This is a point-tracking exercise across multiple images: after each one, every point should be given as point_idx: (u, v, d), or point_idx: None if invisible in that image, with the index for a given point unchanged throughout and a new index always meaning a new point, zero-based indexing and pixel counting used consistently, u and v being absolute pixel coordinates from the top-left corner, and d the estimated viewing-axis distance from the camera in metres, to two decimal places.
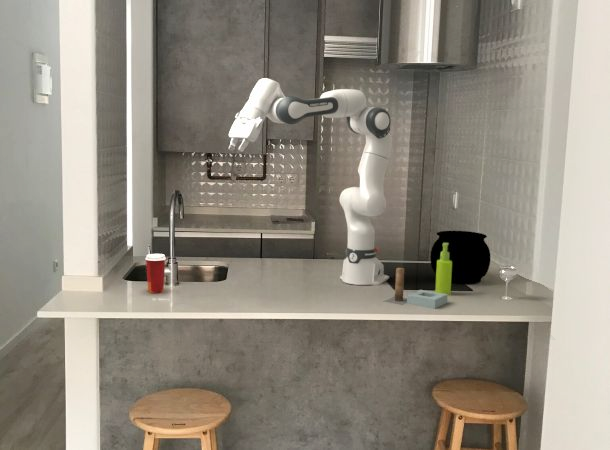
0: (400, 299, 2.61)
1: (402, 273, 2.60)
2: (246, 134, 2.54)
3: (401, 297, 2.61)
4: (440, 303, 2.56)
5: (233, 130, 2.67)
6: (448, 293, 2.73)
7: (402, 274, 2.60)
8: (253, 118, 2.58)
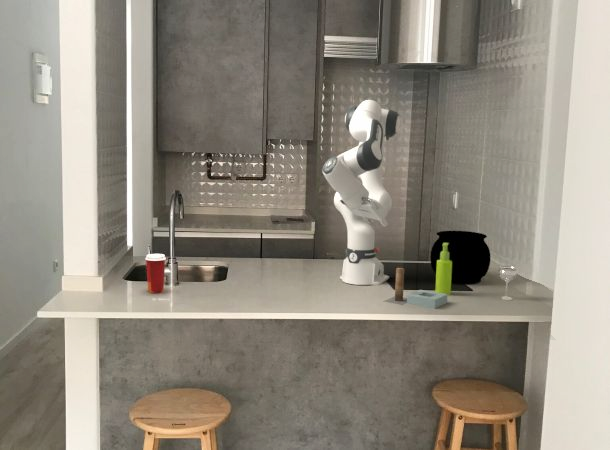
0: (400, 299, 2.61)
1: (402, 273, 2.60)
2: (377, 218, 2.44)
3: (401, 297, 2.61)
4: (440, 303, 2.56)
5: (354, 211, 2.56)
6: (448, 293, 2.73)
7: (402, 274, 2.60)
8: (362, 201, 2.44)
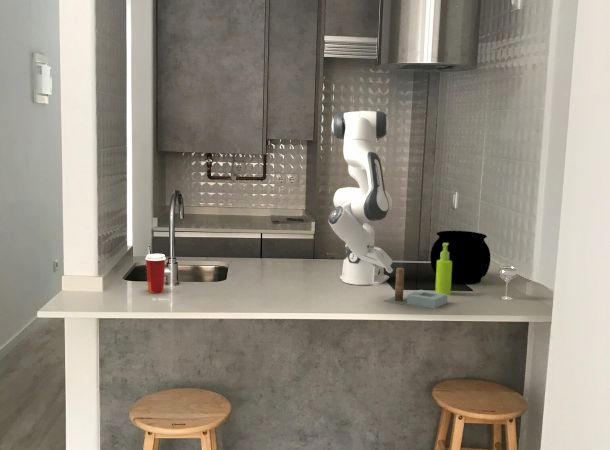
0: (400, 299, 2.61)
1: (402, 273, 2.60)
2: (382, 266, 2.48)
3: (401, 297, 2.61)
4: (440, 303, 2.56)
5: (359, 256, 2.61)
6: (448, 293, 2.73)
7: (402, 274, 2.60)
8: (367, 249, 2.49)
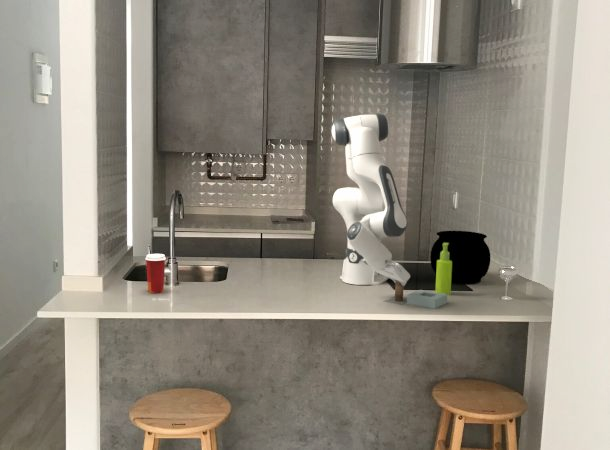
0: (400, 299, 2.61)
1: None
2: (400, 280, 2.52)
3: (401, 297, 2.61)
4: (440, 303, 2.56)
5: None
6: (448, 293, 2.73)
7: None
8: (385, 264, 2.53)
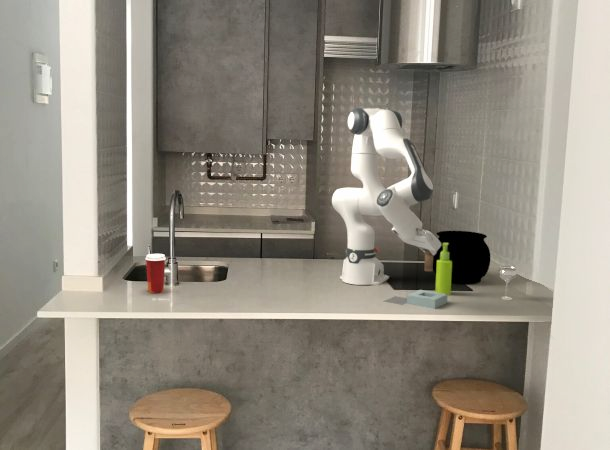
0: (430, 269, 2.56)
1: None
2: (431, 249, 2.48)
3: (430, 267, 2.56)
4: (440, 303, 2.56)
5: (405, 240, 2.60)
6: (448, 293, 2.73)
7: None
8: (416, 232, 2.48)
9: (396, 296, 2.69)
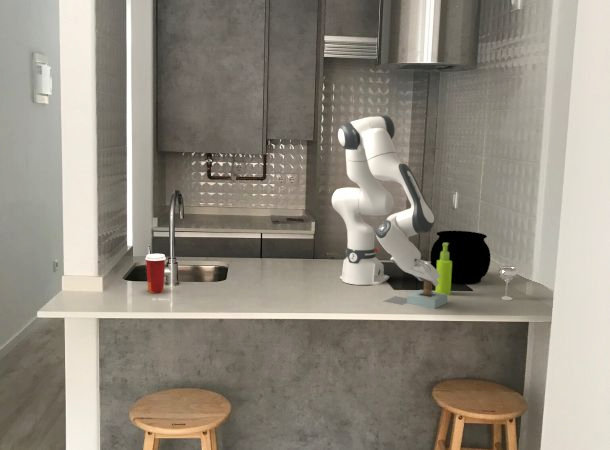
0: None
1: None
2: (430, 279, 2.49)
3: None
4: (440, 303, 2.56)
5: None
6: (448, 293, 2.73)
7: None
8: (414, 262, 2.50)
9: (396, 296, 2.69)
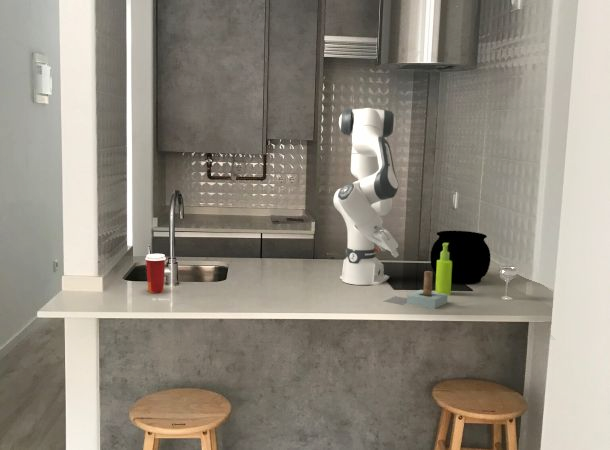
0: None
1: (430, 276, 2.57)
2: (387, 249, 2.43)
3: None
4: (440, 303, 2.56)
5: (368, 237, 2.56)
6: (448, 293, 2.73)
7: (430, 277, 2.57)
8: (374, 230, 2.44)
9: (396, 296, 2.69)
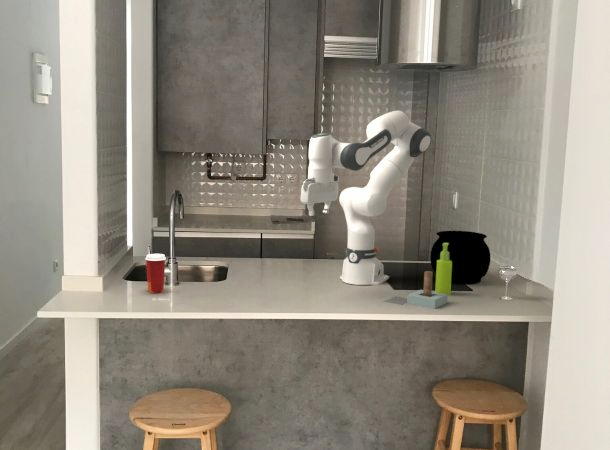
0: None
1: (430, 276, 2.57)
2: None
3: None
4: (440, 303, 2.56)
5: None
6: (448, 293, 2.73)
7: (430, 277, 2.57)
8: None
9: (396, 296, 2.69)
